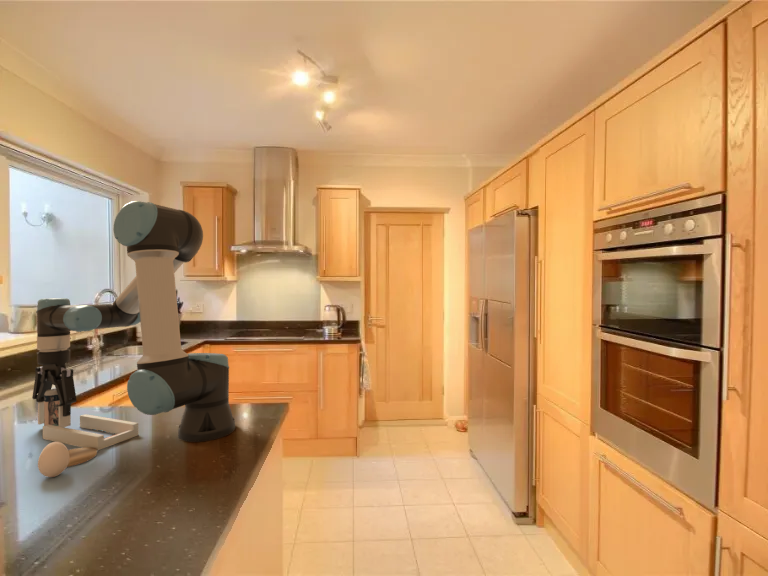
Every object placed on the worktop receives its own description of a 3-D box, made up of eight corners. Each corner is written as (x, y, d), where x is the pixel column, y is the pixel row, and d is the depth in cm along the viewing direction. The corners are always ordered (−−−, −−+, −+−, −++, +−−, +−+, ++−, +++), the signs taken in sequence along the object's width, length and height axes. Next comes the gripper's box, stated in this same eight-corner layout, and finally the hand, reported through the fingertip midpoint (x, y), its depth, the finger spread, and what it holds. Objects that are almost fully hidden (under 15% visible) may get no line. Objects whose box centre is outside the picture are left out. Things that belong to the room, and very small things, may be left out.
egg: (43, 484, 81) (42, 449, 81) (34, 478, 84) (34, 443, 84) (73, 474, 86) (73, 440, 86) (64, 468, 88) (64, 435, 88)
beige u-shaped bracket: (138, 435, 108) (138, 422, 108) (97, 450, 98) (97, 437, 98) (85, 425, 116) (85, 414, 116) (42, 438, 106) (42, 426, 106)
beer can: (51, 433, 110) (51, 392, 110) (39, 432, 111) (39, 391, 111) (69, 427, 115) (69, 388, 115) (57, 426, 116) (57, 387, 116)
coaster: (106, 453, 96) (106, 450, 96) (61, 471, 87) (61, 467, 87) (80, 448, 100) (80, 445, 100) (34, 464, 90) (34, 461, 90)
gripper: (91, 349, 113) (91, 424, 113) (46, 346, 120) (46, 416, 120) (63, 353, 106) (63, 434, 106) (16, 349, 113) (16, 424, 113)
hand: (54, 424), depth 113 cm, fingers open, 9 cm apart
